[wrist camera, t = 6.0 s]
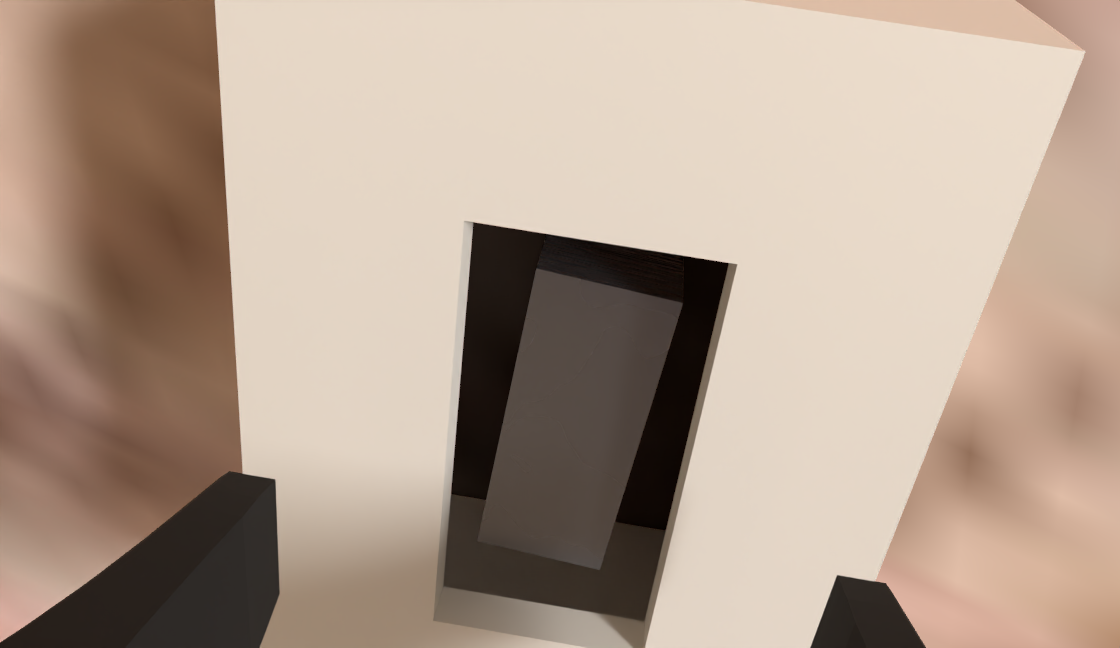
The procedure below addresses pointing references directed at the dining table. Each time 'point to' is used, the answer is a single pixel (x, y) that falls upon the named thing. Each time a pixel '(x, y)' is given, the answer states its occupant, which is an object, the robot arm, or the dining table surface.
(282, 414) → the box
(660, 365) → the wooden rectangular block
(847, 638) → the robot arm
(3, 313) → the dining table surface
